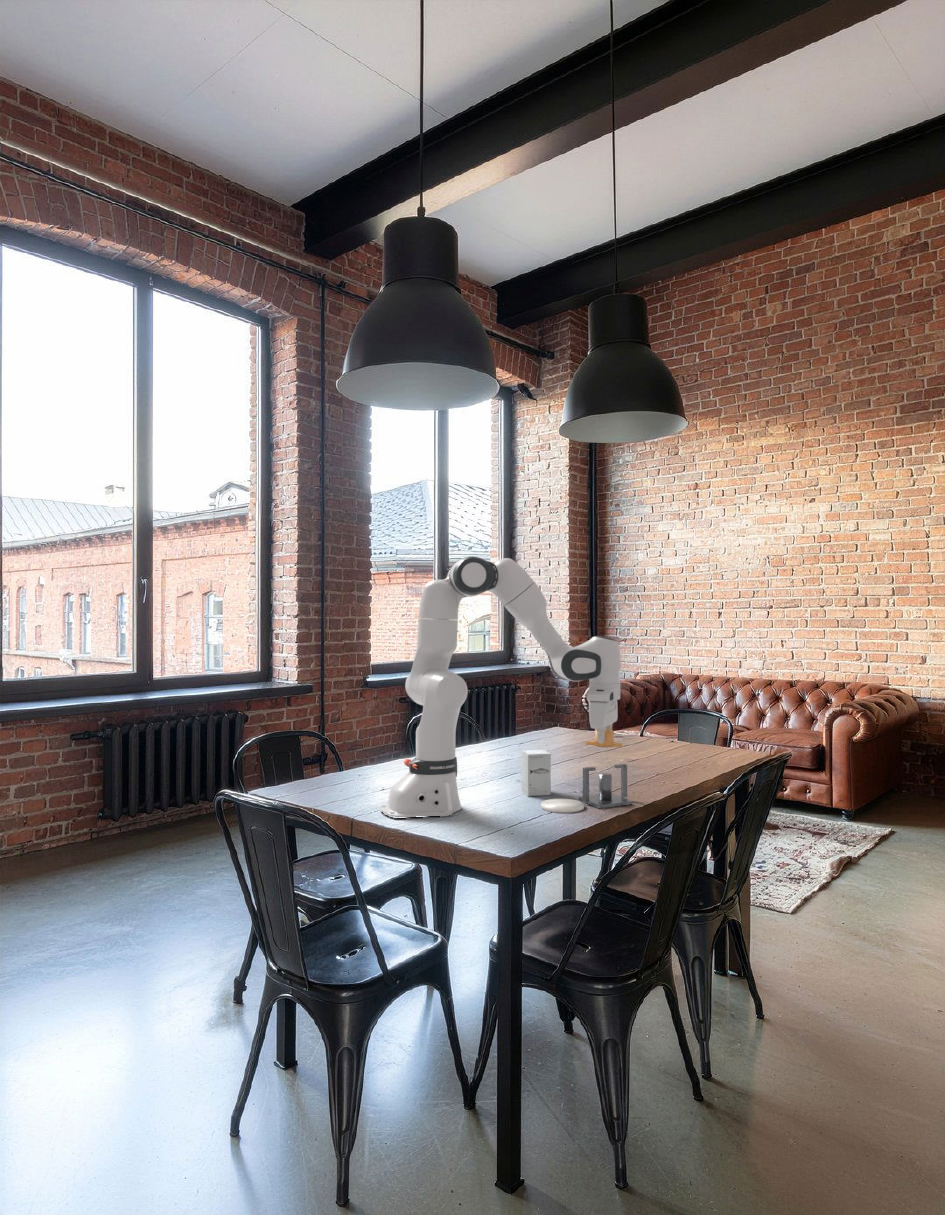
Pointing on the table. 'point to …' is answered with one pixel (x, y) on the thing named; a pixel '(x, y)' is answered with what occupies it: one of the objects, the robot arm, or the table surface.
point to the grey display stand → (605, 789)
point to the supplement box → (536, 772)
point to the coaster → (562, 805)
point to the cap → (608, 740)
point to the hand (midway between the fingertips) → (604, 741)
